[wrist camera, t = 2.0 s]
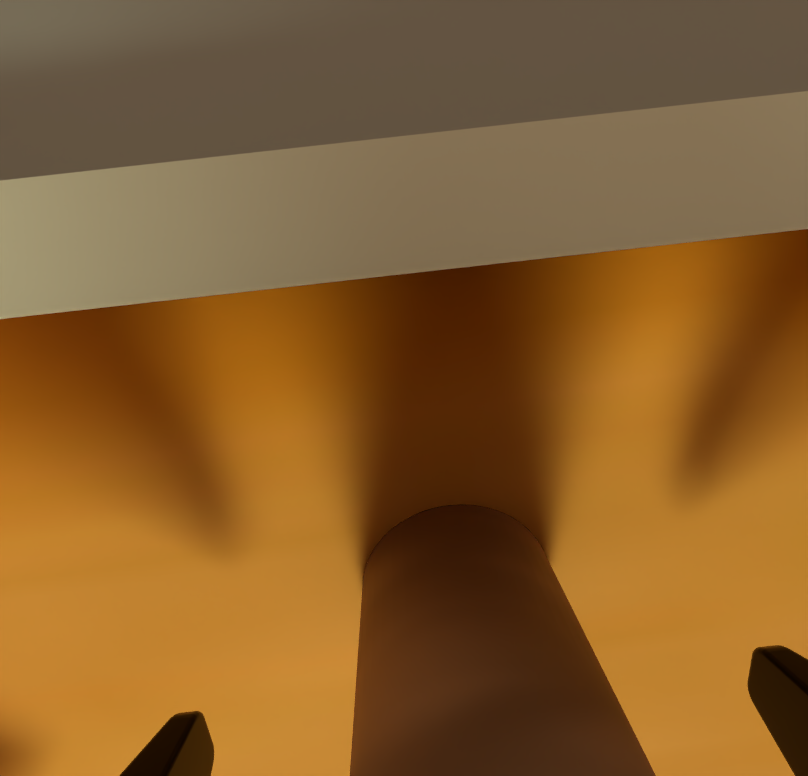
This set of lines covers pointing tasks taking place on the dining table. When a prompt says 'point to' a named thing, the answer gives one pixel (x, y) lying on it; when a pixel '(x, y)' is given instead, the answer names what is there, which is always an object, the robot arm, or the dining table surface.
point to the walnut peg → (478, 660)
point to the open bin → (381, 138)
